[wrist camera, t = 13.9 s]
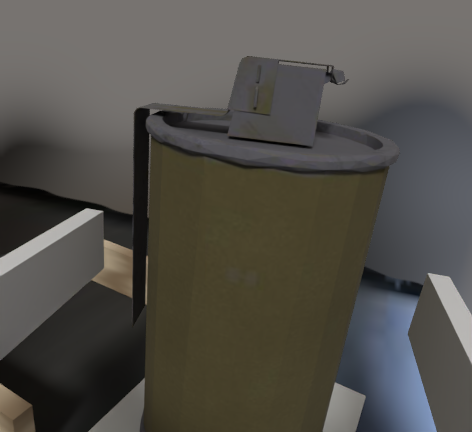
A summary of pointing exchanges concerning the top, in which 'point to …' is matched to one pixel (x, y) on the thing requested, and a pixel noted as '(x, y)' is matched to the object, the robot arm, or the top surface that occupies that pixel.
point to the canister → (250, 251)
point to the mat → (335, 428)
